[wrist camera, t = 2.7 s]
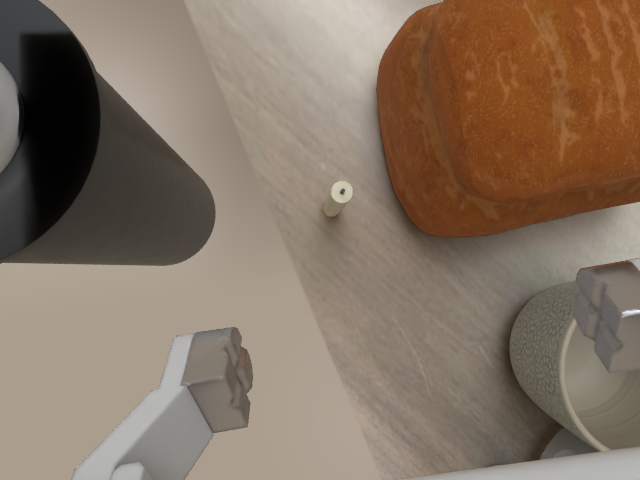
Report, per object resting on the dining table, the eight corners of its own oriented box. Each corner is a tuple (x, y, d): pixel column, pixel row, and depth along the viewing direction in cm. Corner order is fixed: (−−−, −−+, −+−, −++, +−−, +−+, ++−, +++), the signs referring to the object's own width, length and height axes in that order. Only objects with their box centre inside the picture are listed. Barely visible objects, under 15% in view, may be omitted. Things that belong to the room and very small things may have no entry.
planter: (564, 246, 43) (657, 239, 32) (653, 353, 43) (776, 382, 32) (461, 336, 42) (522, 360, 31) (552, 446, 42) (644, 509, 31)
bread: (361, 60, 43) (407, -75, 26) (586, 22, 44) (766, -128, 28) (401, 251, 42) (475, 240, 25) (628, 205, 44) (841, 166, 27)
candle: (322, 217, 42) (332, 202, 32) (321, 199, 42) (330, 179, 33) (340, 216, 42) (355, 201, 33) (339, 198, 42) (354, 178, 33)
